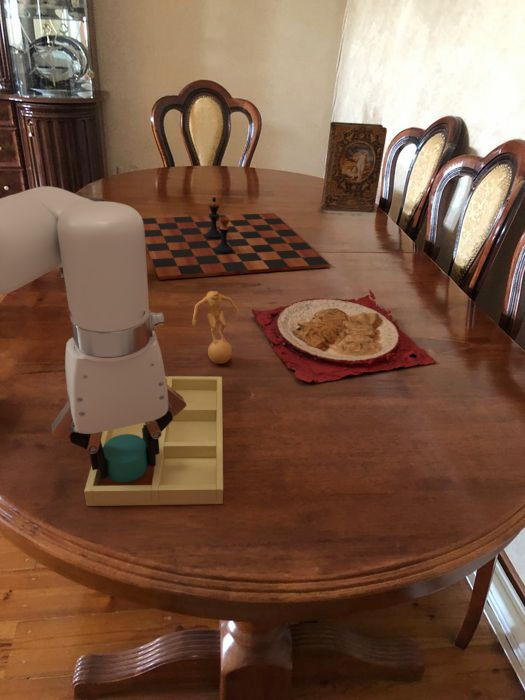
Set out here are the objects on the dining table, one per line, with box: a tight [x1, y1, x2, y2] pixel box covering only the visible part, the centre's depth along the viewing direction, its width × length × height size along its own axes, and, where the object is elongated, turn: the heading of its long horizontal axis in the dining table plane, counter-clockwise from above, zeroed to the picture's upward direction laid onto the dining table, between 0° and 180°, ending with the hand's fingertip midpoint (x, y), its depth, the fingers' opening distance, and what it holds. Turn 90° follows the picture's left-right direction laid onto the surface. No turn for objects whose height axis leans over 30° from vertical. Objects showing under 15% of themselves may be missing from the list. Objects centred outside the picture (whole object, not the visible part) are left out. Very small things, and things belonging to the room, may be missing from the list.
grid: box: [83, 375, 224, 507], centre depth 69 cm, size 15×23×2 cm
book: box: [320, 121, 388, 213], centre depth 161 cm, size 16×6×25 cm, turn 92°
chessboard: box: [141, 197, 330, 281], centre depth 131 cm, size 40×40×11 cm
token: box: [103, 434, 148, 482], centre depth 61 cm, size 5×5×3 cm
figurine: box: [191, 290, 241, 365], centre depth 84 cm, size 8×6×12 cm
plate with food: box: [251, 289, 437, 384], centre depth 94 cm, size 24×26×3 cm
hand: (126, 463), depth 62 cm, fingers closed on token, 4 cm apart
